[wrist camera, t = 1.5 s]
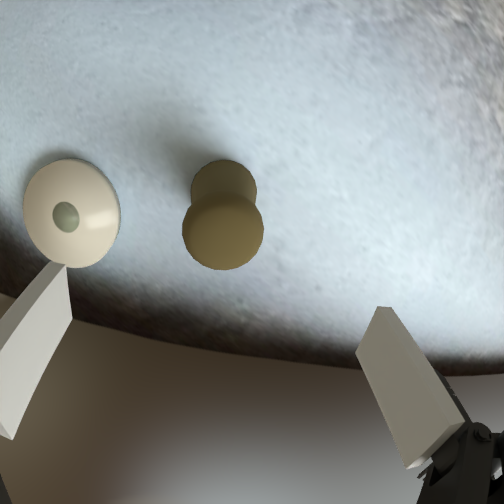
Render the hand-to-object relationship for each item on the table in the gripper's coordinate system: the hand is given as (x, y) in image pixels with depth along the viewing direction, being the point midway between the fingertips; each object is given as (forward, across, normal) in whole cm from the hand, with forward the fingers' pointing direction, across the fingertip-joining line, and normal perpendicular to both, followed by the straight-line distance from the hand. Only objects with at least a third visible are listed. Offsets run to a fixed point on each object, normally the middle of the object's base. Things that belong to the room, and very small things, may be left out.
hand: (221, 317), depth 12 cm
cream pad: (+18, -15, -4) cm, 24 cm away
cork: (+18, 0, 0) cm, 18 cm away
